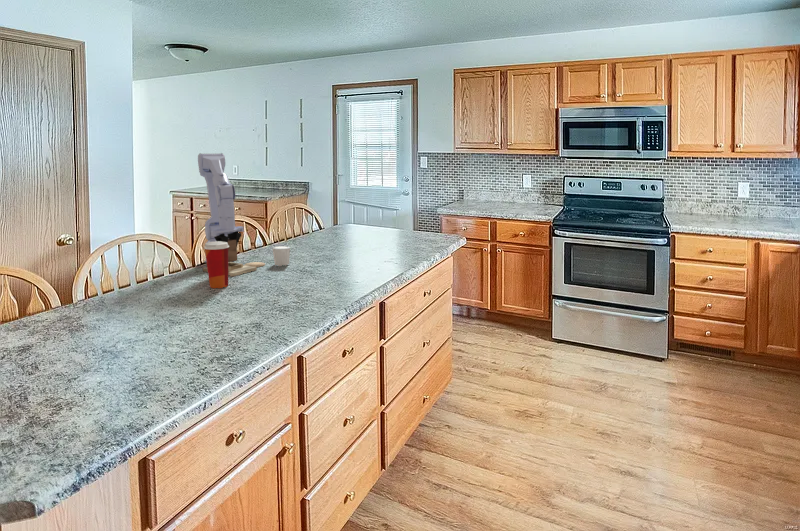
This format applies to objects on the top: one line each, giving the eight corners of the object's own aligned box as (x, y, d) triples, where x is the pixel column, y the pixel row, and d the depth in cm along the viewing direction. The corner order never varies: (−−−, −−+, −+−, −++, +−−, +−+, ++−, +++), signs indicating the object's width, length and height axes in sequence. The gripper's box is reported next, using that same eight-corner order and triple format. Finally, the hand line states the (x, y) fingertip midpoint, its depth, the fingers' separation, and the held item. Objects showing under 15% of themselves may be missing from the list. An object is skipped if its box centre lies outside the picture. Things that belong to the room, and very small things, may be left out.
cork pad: (240, 265, 226) (240, 264, 226) (254, 262, 233) (254, 261, 233) (254, 268, 222) (254, 267, 222) (269, 264, 229) (269, 263, 229)
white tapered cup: (286, 266, 226) (285, 249, 224) (270, 265, 227) (269, 248, 225) (293, 262, 232) (292, 246, 231) (277, 262, 233) (276, 245, 232)
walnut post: (221, 261, 217) (220, 240, 215) (229, 259, 220) (228, 238, 218) (229, 262, 215) (228, 241, 213) (237, 260, 218) (236, 239, 216)
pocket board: (203, 271, 217) (202, 265, 216) (227, 265, 227) (226, 259, 227) (233, 276, 209) (232, 269, 208) (256, 270, 219) (256, 264, 219)
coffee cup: (221, 282, 200) (218, 240, 197) (236, 285, 196) (234, 242, 192) (201, 287, 193) (197, 243, 190) (216, 290, 189) (213, 246, 186)
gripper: (219, 220, 206) (221, 257, 208) (248, 215, 218) (250, 250, 221) (205, 218, 209) (208, 255, 212) (235, 214, 221) (237, 248, 224)
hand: (228, 252), depth 217 cm, fingers closed on walnut post, 4 cm apart
